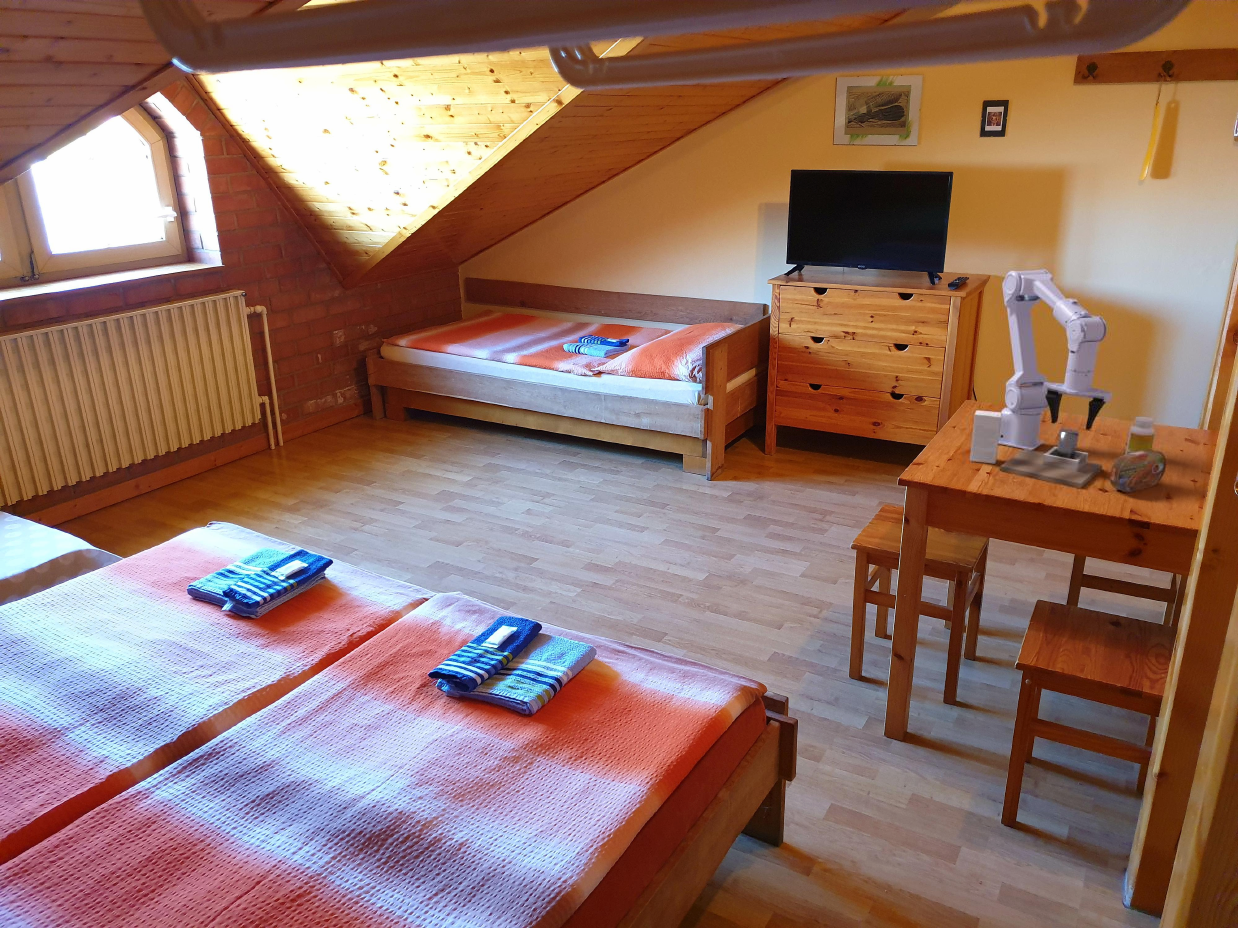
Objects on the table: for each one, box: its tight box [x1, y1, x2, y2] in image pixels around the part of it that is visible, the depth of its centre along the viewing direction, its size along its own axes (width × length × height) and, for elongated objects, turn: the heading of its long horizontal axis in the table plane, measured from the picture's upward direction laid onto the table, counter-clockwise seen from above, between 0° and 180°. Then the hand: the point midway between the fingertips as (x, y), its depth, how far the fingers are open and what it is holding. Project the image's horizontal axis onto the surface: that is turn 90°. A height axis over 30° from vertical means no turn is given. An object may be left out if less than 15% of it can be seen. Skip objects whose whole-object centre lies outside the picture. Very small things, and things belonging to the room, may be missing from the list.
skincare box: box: [969, 409, 1002, 465], centre depth 222 cm, size 6×4×12 cm
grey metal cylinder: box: [1056, 428, 1080, 460], centre depth 216 cm, size 4×4×8 cm
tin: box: [1109, 449, 1167, 493], centre depth 204 cm, size 15×3×8 cm, turn 114°
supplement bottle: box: [1124, 416, 1156, 455], centre depth 223 cm, size 5×5×10 cm
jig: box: [999, 446, 1103, 489], centre depth 216 cm, size 18×16×4 cm
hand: (1071, 425), depth 215 cm, fingers open, 7 cm apart
